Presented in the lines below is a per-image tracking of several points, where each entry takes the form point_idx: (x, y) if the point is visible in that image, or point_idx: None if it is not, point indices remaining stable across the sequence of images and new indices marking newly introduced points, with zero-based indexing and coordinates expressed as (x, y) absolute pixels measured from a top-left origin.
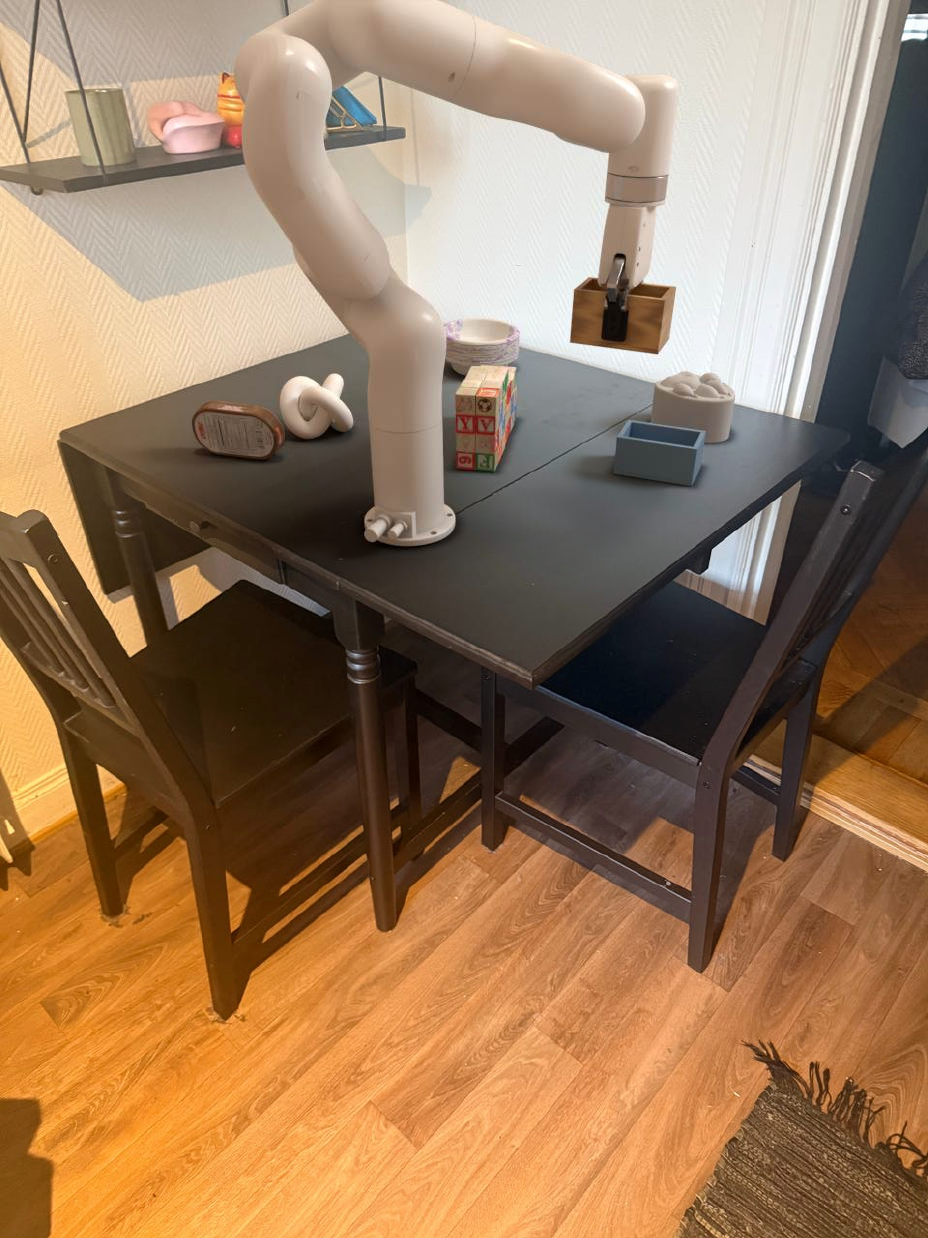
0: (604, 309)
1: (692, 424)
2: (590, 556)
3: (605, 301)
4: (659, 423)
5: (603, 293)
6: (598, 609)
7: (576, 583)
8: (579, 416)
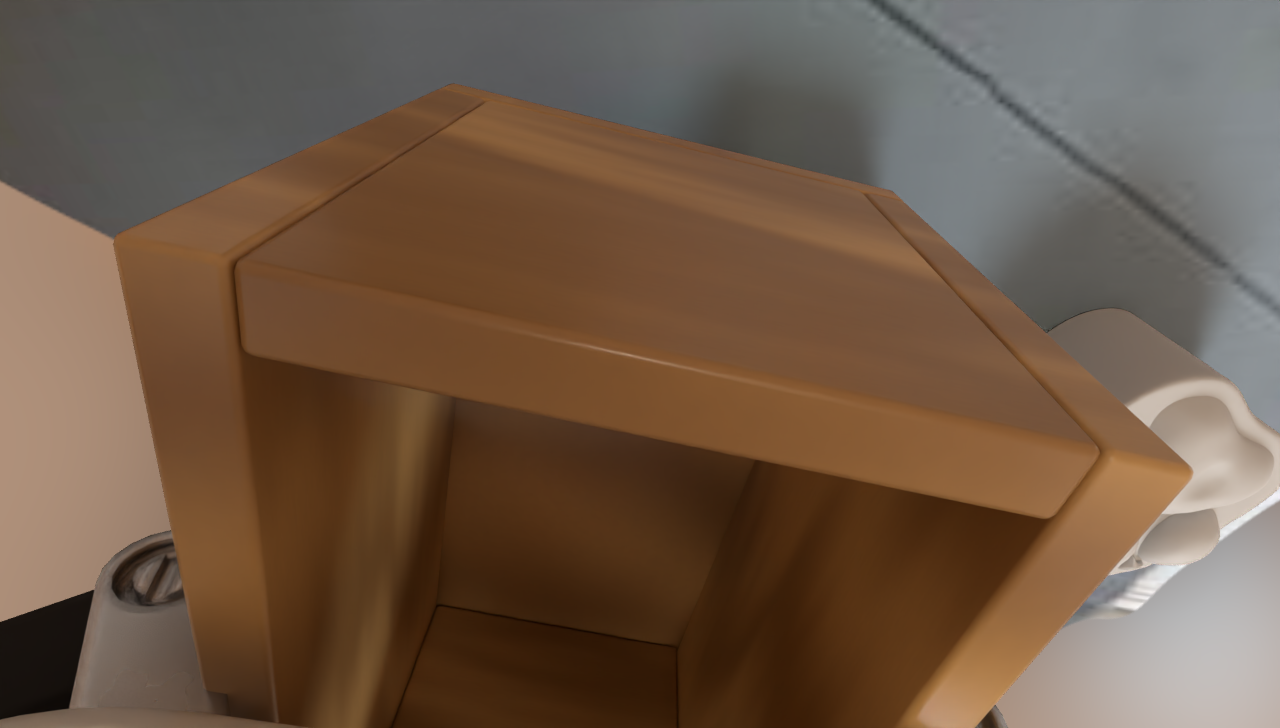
0: (164, 532)
1: None
2: (238, 144)
3: (95, 607)
4: (1065, 341)
5: (195, 638)
6: (18, 173)
7: (95, 113)
8: (1257, 57)
